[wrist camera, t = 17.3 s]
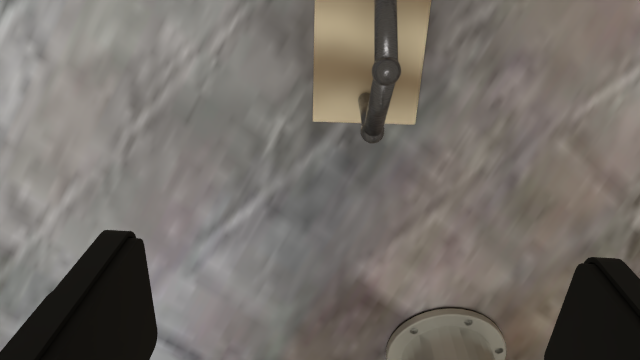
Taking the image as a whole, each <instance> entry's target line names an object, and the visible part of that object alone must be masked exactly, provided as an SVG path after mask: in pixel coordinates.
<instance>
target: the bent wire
mask: <svg viewBox="0 0 640 360" xmlns="http://www.w3.org/2000/svg"><path fill="white" fill-rule="evenodd" d="M400 75H401V66H400V63H399V62H398V31H397V0H374V64H373V66H372V77H373V81H372V86H371V91H370V93H362V94H361V95H360V96H359V98H358V104H359V110H360V116H361V123H362V127H361V136H362V138H363V139H364V140H365V141H366V142H368V143H377V142H379V141H380V140H381V139H382V138H383V136H384V123H385V120H386V116H387V112H388V108H389V105H390V101H391V97H392V94H393V90H394V86H395V83H396V82H397V81H398V79H399V78H400Z"/></svg>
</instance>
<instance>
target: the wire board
mask: <svg viewBox="0 0 640 360" xmlns="http://www.w3.org/2000/svg"><path fill="white" fill-rule="evenodd" d="M430 6H431V0H397V31H398V62H399V63H400V66H401V75H400V78H399V79H398V81H397V82H396V83H395V86H394V90H393V94H392V97H391V101H390V105H389V108H388V112H387V116H386V120H385V123H384V124H414V125H415V121H416V113H417V106H418V98H419V90H420V83H421V75H422V67H423V60H424V52H425V44H426V37H427V29H428V21H429V14H430ZM373 64H374V0H315V23H314V83H313V122H346V123H361V116H360V110H359V104H358V98H359V96H360V95H361V94H362V93H370V91H371V86H372V81H373V77H372V66H373Z"/></svg>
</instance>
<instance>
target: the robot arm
mask: <svg viewBox="0 0 640 360" xmlns="http://www.w3.org/2000/svg"><path fill="white" fill-rule="evenodd" d="M156 341H157V325H156V319H155V313H154V306H153V300H152V293H151V287H150V280H149V274H148V267H147V261H146V254H145V248H144V243H143V240H142V239H138V238H136V236H135V234H134V233H133V232H132V231H116V230H105V231H103V232H102V233H101V234H100V235H99V236H98V237H97V238H96V240H95V241H94V242H93V243H92V245H91V246H90V247H89V248H88V249H87V251H86V252H85V253H84V254H83V255H82V257H81V258H80V259H79V260H78V261H77V263H76V264H75V265H74V266H73V267H72V269H71V270H70V271H69V272H68V274H67V275H66V276H65V277H64V278H63V280H62V281H61V282H60V283H59V284H58V286H57V287H56V288H55V289H54V290H53V291H52V292H51V293H50V294H49V295H48V296H47V297H46V298H45V299H44V300H43V301H42V303H41V304H40V305H39V306H38V307H37V309H36V310H35V311H34V312H33V313H32V315H31V316H30V317H29V318H28V319H27V321H26V322H25V323H24V324H23V325H22V327H21V328H20V329H19V330H18V331H17V333H16V334H15V335H14V336H13V337H12V339H11V340H10V341H9V342H8V343H7V345H6V346H5V347H4V348H3V349H2V351H1V352H0V360H149V359H150V357H151V355H152V353H153V351H154V348H155V345H156ZM506 352H507V350H506V343H505V341H504V338H503V336H502V333H501V332H500V330H499V328H498V327H497V326H496V325H495V324H494V323H493V322H492V321H491V320H490V319H488V318H486V317H485V316H483V315H481V314H478V313H476V312H473V311H469V310H464V309H452V308H448V309H437V310H433V311H429V312H425V313H422V314H420V315H417V316H415V317H413V318H411V319H410V320H408V321H406V322H405V323H403V324H402V325H401V326H400V327H399V328H397V330H396V331H395V332H394V333H393V334H392V336H391V338H390V340H389V342H388V344H387V349H386V360H505V359H506ZM544 360H640V279H639V278H638V277H637V276H636V275H635V273H634V272H633V271H632V270H631V269H630V268H629V267H628V266H627V265H626V264H625V263H624V262H623V261H622V260H620V259H615V258H597V257H591V258H588V259H587V260H586V261H585V262H584V264H583V263H582V264H579V265H578V266H577V268H576V270H575V273H574V275H573V278H572V281H571V283H570V286H569V289H568V292H567V294H566V297H565V300H564V303H563V305H562V308H561V311H560V313H559V316H558V319H557V322H556V324H555V327H554V330H553V332H552V335H551V338H550V341H549V343H548V346H547V349H546V352H545V355H544Z"/></svg>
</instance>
